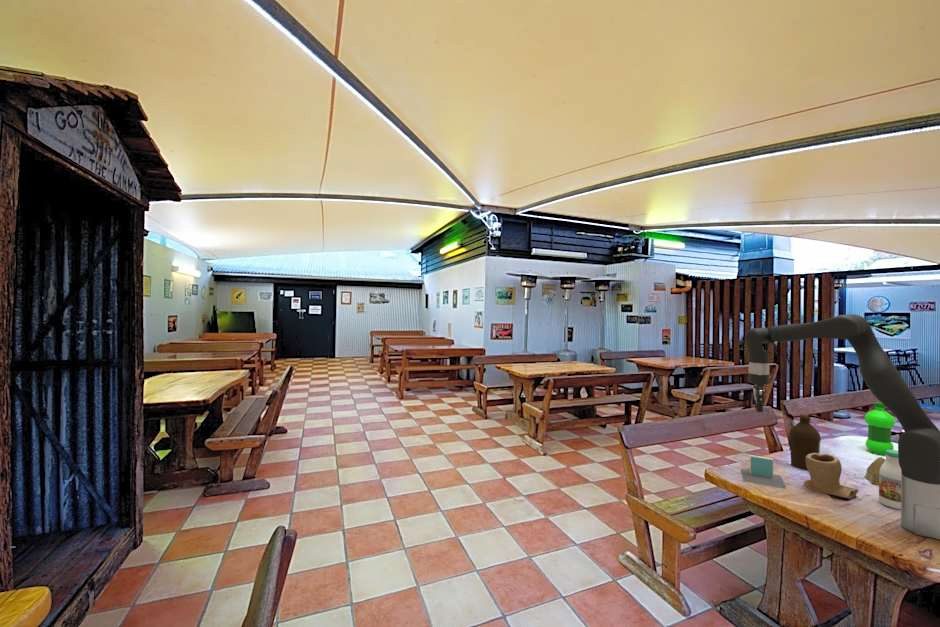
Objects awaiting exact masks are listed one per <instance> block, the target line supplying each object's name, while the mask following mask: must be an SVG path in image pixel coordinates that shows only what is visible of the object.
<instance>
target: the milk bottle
mask: <svg viewBox="0 0 940 627" xmlns="http://www.w3.org/2000/svg"><path fill="white" fill-rule="evenodd" d="M885 454H886V455H884V456H885V462H884V463H883V464H882V466H881V468H880V471H879V485H878V501H879V503H881V505H884V506H886V507H889V508H893V509H896V510H901V468H900V466H899V459H898V450H894V449H893V450H886V451H885Z"/></svg>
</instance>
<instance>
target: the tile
mask: <svg viewBox="0 0 940 627" xmlns="http://www.w3.org/2000/svg"><path fill="white" fill-rule="evenodd" d="M749 470H750V474H752V475H758V476H763V477H769V478H773V474H774V458H772V457H765V456H759V455H753V454H749Z"/></svg>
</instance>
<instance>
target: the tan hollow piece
mask: <svg viewBox="0 0 940 627" xmlns="http://www.w3.org/2000/svg"><path fill="white" fill-rule="evenodd" d="M805 461H806V467H807V470H808V471H807V470H806V471H807V472H808V474H809V476H810V479H806V480H805V481H803V485H804V486H805V488H808V489H810V490H814V491H817V492H821V493H824V494H828V495H831V496H835V497H839V498H844V499H849V500H850V499H853V498H855V496H857V493H858V492H859V490H858V488H854V487H849V486H845V485H841V483H840V478H841V475H842V469H843V468H842V464H841V461H840V460H839V458H838V457H837V456H834V455H833V454H830V453H820V454H819V453H811V454H808V455H807V456H806V458H805Z"/></svg>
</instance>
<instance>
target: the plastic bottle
mask: <svg viewBox="0 0 940 627" xmlns="http://www.w3.org/2000/svg"><path fill="white" fill-rule="evenodd" d="M873 407H874V409H872V410H870V411H868V412H866V414H865V415H864V422H865V423H866V424H867V425H868V426H867V428H868V429H867V434H868V435H867V436H868V437H867V439H866V441H865V447H866V448H867V449H868V450H869V451H871V453H873V454H876V455H880V456H882V455H883V456H885V455H886V454H885V451H886V450H894V446H895V445H894V444H893V442H892V440H891V439H892V428H893V427H894V426H895V424H896V423H895V422H896V421H895V420H896V419H895V418H894V417H895V416H892V415H891V414H890V413H888V412H887V411H886V410H885V409H886V408H887V407H886V406H885V405H884V404H882V403H881V402H880V401H874V402H873Z"/></svg>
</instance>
